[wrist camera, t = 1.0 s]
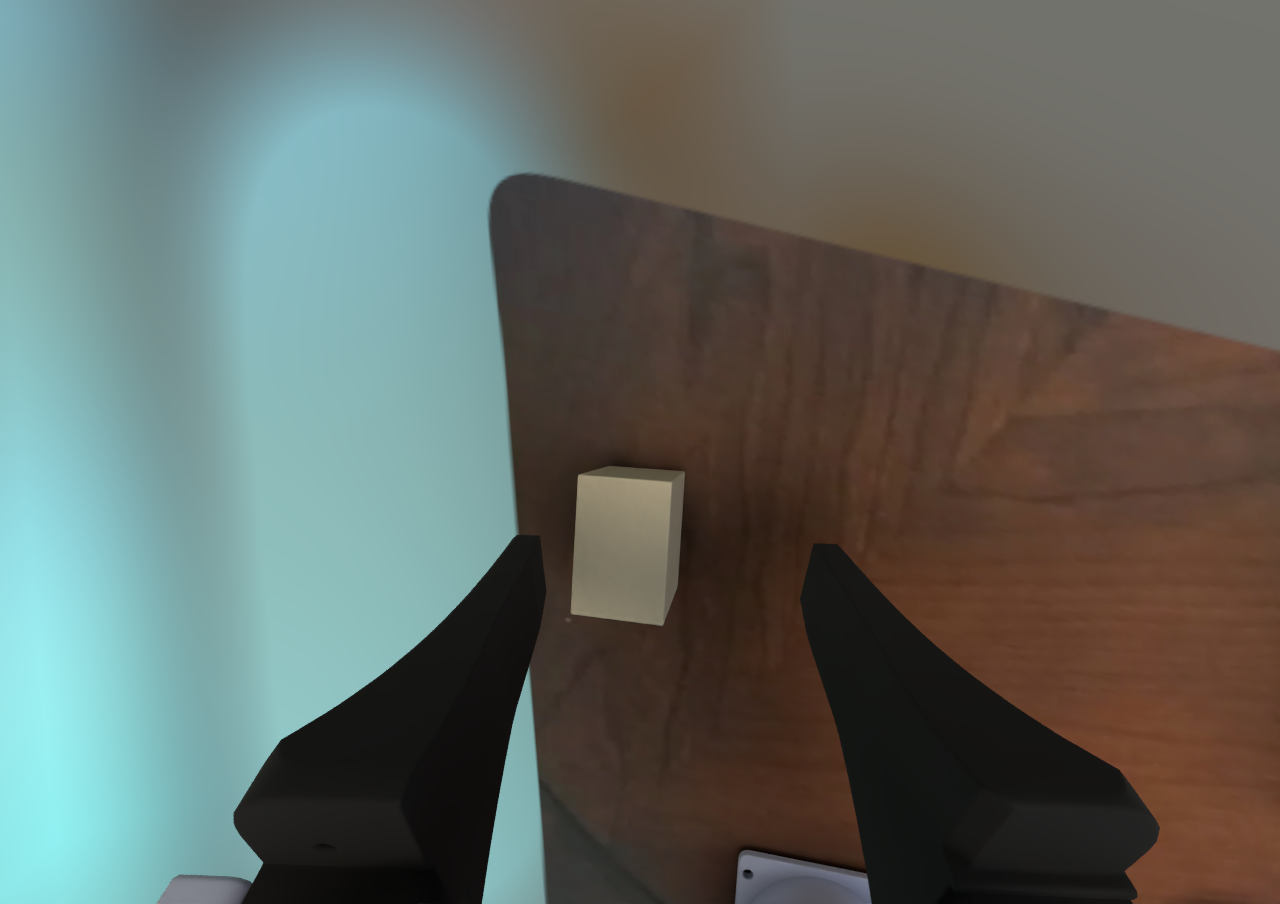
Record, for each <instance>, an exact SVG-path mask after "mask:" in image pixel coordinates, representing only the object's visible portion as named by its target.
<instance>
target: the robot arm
mask: <svg viewBox="0 0 1280 904" xmlns="http://www.w3.org/2000/svg"><path fill="white" fill-rule="evenodd" d="M545 596H546V584H545V575H544V567H543V559H542V550H541V542H540V536H530V535H517V536H515V537H514V538H513V539H512V541H511V542H510V543H509V545H508V546H507V547H506V549H505V550H504V551H503V553H502V554H501V555H500V557H499V558H498V559H497V560H496V562H495V563H494V564H493V566H492V567H491V568H490V569H489V571H488V572H487V573H486V574H485V575H484V576H483V578H482V579H481V580H480V581H479V582H478V583H477V585H476V586H475V587H474V588H473V589H472V590H471V592H470V593H469V594H468V595H467V596H466V597H465V598H464V599H463V600H462V602H460V604H459V605H458V606H457V607H456V608H455V609H454V610H453V611H452V612H451V613H450V614H449V615H448V616H447V617H446V618H445V619H444V620H443V621H442V622H441V623H440V624H439V625H438V626H437V627H436V628H435V629H434V630H433V631H432V632H431V633H430V634H429V635H428V636H427V637H426V638H424V639H423V640H422V641H421V642H420V643H419V644H418V645H417V646H415V647H414V648H413V649H412V650H411V651H410V652H408V653H407V654H406V655H405V656H404V657H402V658H401V659H400V660H399V661H398V662H397V663H395V664H394V665H393V666H392V667H390V668H389V669H388V670H386V671H385V672H384V673H383V674H382V675H380V676H379V677H377V678H376V679H375V680H373V681H372V682H371V683H369V684H368V685H366V686H365V687H364V688H362V689H361V690H359V691H358V692H356V693H355V694H354V695H352V696H351V697H349V698H348V699H346V700H345V701H344V702H342V703H341V704H339V705H338V706H336V707H334V708H333V709H331V710H330V711H328V712H327V713H325V714H323V715H322V716H320V717H319V718H317V719H315V720H314V721H312V722H310V723H308V724H307V725H305V726H304V727H302V728H300V729H299V730H297V731H295V732H294V733H292V734H290V735H288V736H287V737H285V738H283V739H282V740H281V741H280V742H279V744H278V745H277V746H276V748H275V749H274V750H273V752H272V753H271V755H270V756H269V757H268V759H267V760H266V762H265V763H264V765H263V767H262V768H261V770H260V771H259V773H258V774H257V776H256V778H255V779H254V781H253V782H252V784H251V786H250V787H249V789H248V791H247V792H246V794H245V795H244V797H243V799H242V800H241V802H240V804H239V805H238V807H237V808H236V810H235V812H234V825H235V827H236V829H237V831H238V833H239V834H240V836H241V837H242V838H243V839H244V840H245V842H246V843H247V844H248V845H249V846H250V847H251V849H252V850H253V851H254V852H255V853H256V854H257V856H258V857H259V858H260V859H261V860H262V861H263V865H262V867H261V869H260V871H259V873H258V875H257V876H256V878H255V880H254V882H253V883H251V882H250V881H247V880H245V879H242V878H237V877H227V876H203V875H178V876H177V877H174V878H173V879H172V881H171V882H170V884H169V885H168V887H167V888H166V890H165V891H164V893H163V894H162V896H161V898H160V899H159V901H158V902H157V904H482V898H483V892H484V885H485V878H486V872H487V865H488V858H489V852H490V846H491V840H492V833H493V827H494V821H495V816H496V810H497V804H498V798H499V793H500V787H501V782H502V776H503V771H504V765H505V759H506V755H507V749H508V744H509V739H510V734H511V729H512V724H513V720H514V716H515V712H516V708H517V704H518V701H519V698H520V694H521V691H522V687H523V684H524V681H525V677H526V674H527V671H528V667H529V664H530V661H531V657H532V654H533V650H534V647H535V643H536V640H537V637H538V633H539V630H540V626H541V620H542V614H543V609H544V602H545ZM800 601H801V606H802V612H803V617H804V622H805V627H806V632H807V636H808V640H809V643H810V646H811V649H812V652H813V655H814V658H815V661H816V665H817V668H818V671H819V674H820V677H821V680H822V683H823V686H824V689H825V692H826V695H827V698H828V701H829V704H830V707H831V710H832V713H833V716H834V719H835V723H836V726H837V730H838V733H839V737H840V742H841V746H842V751H843V755H844V760H845V764H846V769H847V773H848V778H849V783H850V787H851V792H852V797H853V802H854V807H855V812H856V817H857V822H858V828H859V833H860V839H861V844H862V850H863V855H864V860H865V866H866V872H867V874H866V873H861V872H856V871H851V870H846V869H841V868H836V867H831V866H826V865H821V864H816V863H811V862H806V861H801V860H796V859H791V858H786V857H781V856H776V855H771V854H766V853H761V852H756V851H751V850H744V851H742V852H741V853H740V854H739V857H738V869H737V883H736V896H735V904H1133V903H1132V902H1131V900H1134V899H1135V898H1137V891H1136V889H1135V888H1134V886H1133V885H1132V883H1131V881H1130V880H1129V878H1128V877H1127V875H1126V873H1125V872H1124V871H1125V870H1126V869H1127V868H1129V867H1130V866H1131V865H1132V864H1133V863H1135V862H1136V861H1137V860H1138V859H1139V858H1140V857H1142V856H1143V855H1144V854H1145V853H1146V852H1147V851H1149V850H1150V849H1151V847H1152V846H1153V845H1154V844H1155V843H1156V842H1157V838H1158V834H1159V829H1160V827H1159V825H1158V823H1157V821H1156V819H1155V818H1154V817H1153V815H1152V814H1151V812H1150V811H1149V810H1148V808H1147V807H1146V805H1145V804H1144V803H1143V801H1142V800H1141V798H1140V797H1139V796H1138V794H1137V793H1136V791H1135V790H1134V789H1133V787H1132V786H1131V785H1130V783H1129V782H1128V781H1127V779H1126V778H1125V777H1124V775H1123V774H1122V773H1121V772H1120V770H1119V769H1117V768H1115V767H1113V766H1112V765H1110V764H1108V763H1106V762H1105V761H1103V760H1101V759H1099V758H1098V757H1096V756H1094V755H1092V754H1091V753H1089V752H1087V751H1086V750H1084V749H1082V748H1080V747H1079V746H1077V745H1075V744H1073V743H1072V742H1070V741H1068V740H1066V739H1065V738H1063V737H1061V736H1060V735H1058V734H1057V733H1055V732H1053V731H1052V730H1050V729H1049V728H1047V727H1046V726H1044V725H1042V724H1041V723H1039V722H1038V721H1036V720H1035V719H1033V718H1032V717H1030V716H1028V715H1027V714H1025V713H1024V712H1022V711H1021V710H1019V709H1018V708H1017V707H1015V706H1014V705H1012V704H1011V703H1009V702H1008V701H1006V700H1005V699H1003V698H1002V697H1001V696H999V695H998V694H997V693H995V692H994V691H992V690H991V689H990V688H988V687H987V686H986V685H984V684H983V683H981V682H980V681H979V680H977V679H976V678H975V677H974V676H972V675H971V674H970V673H968V672H967V671H966V670H964V669H963V668H962V667H961V666H960V665H958V664H957V663H956V662H955V661H953V660H952V659H951V658H950V657H949V656H947V655H946V654H945V653H944V652H943V651H941V650H940V649H939V648H938V647H937V646H936V645H934V644H933V643H932V642H931V641H930V640H929V639H928V638H927V637H925V636H924V635H923V634H922V633H921V632H920V631H919V630H918V629H917V628H916V627H915V626H914V625H913V624H912V623H911V622H909V621H908V620H907V619H906V618H905V617H904V616H903V615H902V614H901V613H900V612H899V611H898V610H897V609H896V608H895V607H894V606H893V605H892V604H891V602H890V601H889V600H888V599H887V598H886V597H885V596H884V595H883V594H882V593H881V592H880V591H879V590H878V589H877V588H876V587H875V586H874V585H873V583H872V582H871V581H870V580H869V579H868V578H867V577H866V576H865V575H864V573H863V572H862V571H861V570H860V569H859V568H858V567H857V566H856V565H855V563H854V562H853V561H852V560H851V559H850V558H849V557H848V556H847V554H846V553H845V552H844V551H843V550H842V549H841V548H840V547H839V546H838V545H837V544H813V548H812V552H811V557H810V561H809V565H808V569H807V573H806V577H805V581H804V585H803V589H802V593H801V597H800ZM747 869H748V870H750V871H751V873H746V872H744V870H747Z"/></svg>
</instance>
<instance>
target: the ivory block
mask: <svg viewBox="0 0 1280 904" xmlns="http://www.w3.org/2000/svg"><path fill="white" fill-rule="evenodd" d="M684 480H685V472H684V471H673V470H660V469H646V468H633V467H619V466H607V467H604V468H600V469H597V470H593V471H590V472H586V473H583V474H579V475H578V486H577V505H576V523H575V542H574V560H573V579H572V598H571V614H575V615H583V616H590V617H598V618H606V619H614V620H622V621H629V622H637V623H645V624H653V625H660V626H662V625H663V624H664V621H665V619H666V616H667V613H668V611H669V608H670V605H671V603H672V600H673V597H674V595H675V592H676V589H677V587H678V573H679V558H680V542H681V527H682V511H683V496H684Z"/></svg>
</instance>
